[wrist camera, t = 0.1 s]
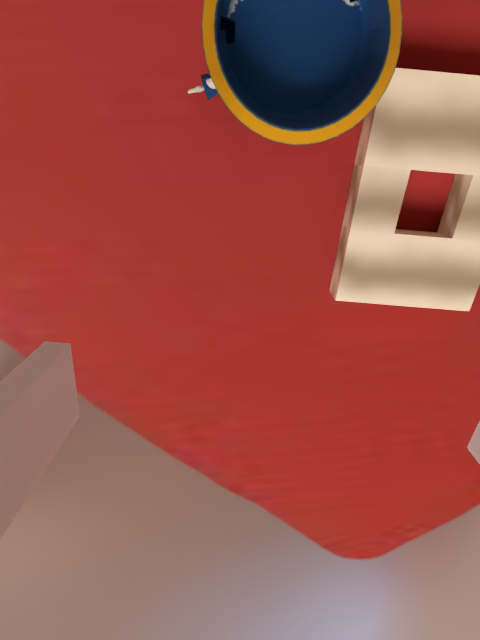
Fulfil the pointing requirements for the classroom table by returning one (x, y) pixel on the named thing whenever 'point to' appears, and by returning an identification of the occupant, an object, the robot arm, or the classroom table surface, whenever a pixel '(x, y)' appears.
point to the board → (389, 188)
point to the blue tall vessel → (300, 63)
